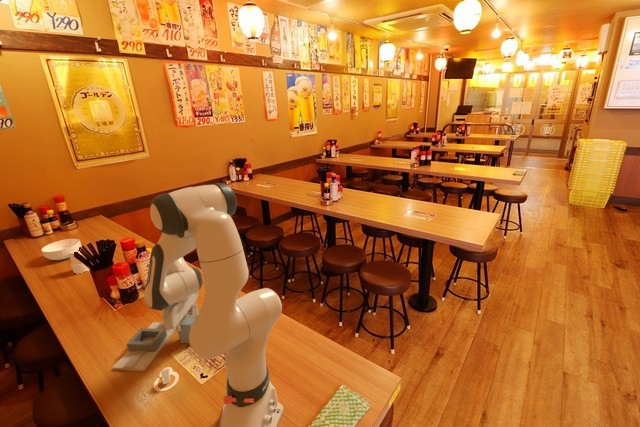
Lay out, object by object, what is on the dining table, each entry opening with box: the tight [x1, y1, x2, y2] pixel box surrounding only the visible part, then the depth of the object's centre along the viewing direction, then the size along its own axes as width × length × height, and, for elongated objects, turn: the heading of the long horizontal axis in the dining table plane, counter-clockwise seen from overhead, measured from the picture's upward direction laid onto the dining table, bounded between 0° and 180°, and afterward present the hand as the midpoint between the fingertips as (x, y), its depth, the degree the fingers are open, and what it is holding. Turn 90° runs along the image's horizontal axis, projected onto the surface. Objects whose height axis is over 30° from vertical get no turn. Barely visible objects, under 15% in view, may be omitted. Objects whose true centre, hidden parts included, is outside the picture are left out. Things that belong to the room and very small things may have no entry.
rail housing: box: [112, 321, 176, 372], centre depth 120 cm, size 24×12×4 cm, turn 175°
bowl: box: [40, 238, 82, 261], centre depth 198 cm, size 20×20×8 cm
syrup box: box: [183, 300, 200, 319], centre depth 134 cm, size 6×6×14 cm
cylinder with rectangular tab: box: [68, 250, 90, 275], centre depth 178 cm, size 9×9×12 cm
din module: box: [177, 317, 197, 344], centre depth 121 cm, size 4×7×9 cm, turn 85°
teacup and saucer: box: [152, 366, 180, 393], centre depth 104 cm, size 9×8×4 cm
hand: (185, 321), depth 120 cm, fingers open, 8 cm apart
